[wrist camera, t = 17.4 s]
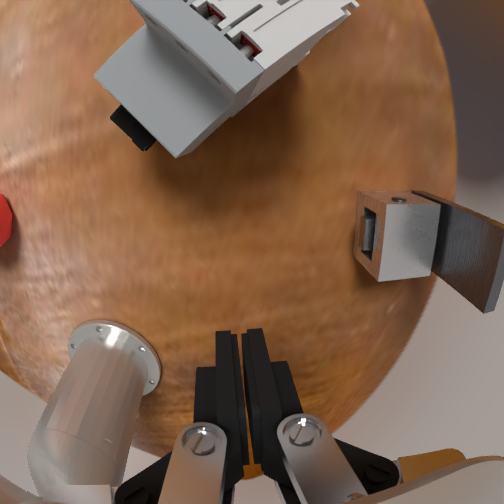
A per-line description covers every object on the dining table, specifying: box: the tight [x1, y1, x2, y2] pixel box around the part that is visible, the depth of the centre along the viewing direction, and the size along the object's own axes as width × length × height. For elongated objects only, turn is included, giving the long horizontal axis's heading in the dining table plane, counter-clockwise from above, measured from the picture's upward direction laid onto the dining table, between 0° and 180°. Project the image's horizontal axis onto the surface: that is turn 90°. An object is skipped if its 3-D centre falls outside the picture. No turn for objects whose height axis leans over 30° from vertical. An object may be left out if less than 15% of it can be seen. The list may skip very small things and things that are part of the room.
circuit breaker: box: [93, 0, 360, 158], centre depth 17 cm, size 8×14×15 cm, turn 132°
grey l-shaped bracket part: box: [358, 191, 504, 313], centre depth 24 cm, size 7×9×14 cm
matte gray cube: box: [353, 190, 441, 282], centre depth 27 cm, size 7×6×6 cm
